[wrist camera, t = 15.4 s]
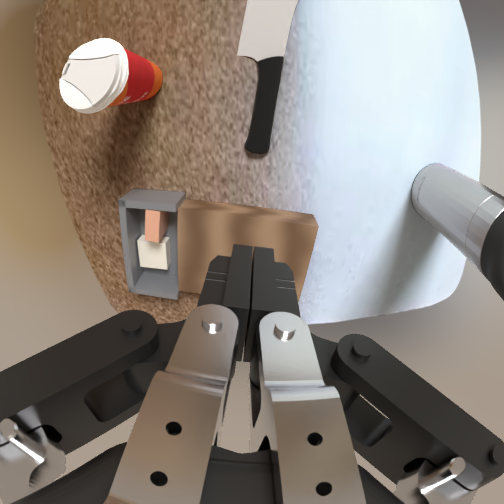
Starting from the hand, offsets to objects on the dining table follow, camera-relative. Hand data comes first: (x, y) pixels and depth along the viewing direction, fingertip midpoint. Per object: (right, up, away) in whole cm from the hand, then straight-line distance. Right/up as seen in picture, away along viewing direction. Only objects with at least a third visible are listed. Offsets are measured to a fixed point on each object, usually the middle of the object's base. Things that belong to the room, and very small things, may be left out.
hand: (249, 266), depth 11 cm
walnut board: (-1, +1, +30) cm, 30 cm away
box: (-14, +3, +30) cm, 33 cm away
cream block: (-15, 0, +29) cm, 32 cm away
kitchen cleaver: (+1, +27, +16) cm, 32 cm away
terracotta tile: (-12, +5, +25) cm, 28 cm away
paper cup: (-14, +23, +18) cm, 33 cm away
